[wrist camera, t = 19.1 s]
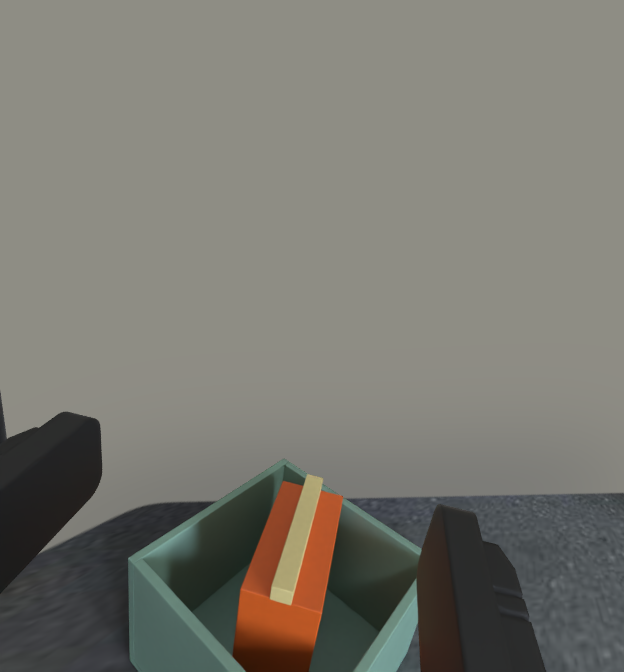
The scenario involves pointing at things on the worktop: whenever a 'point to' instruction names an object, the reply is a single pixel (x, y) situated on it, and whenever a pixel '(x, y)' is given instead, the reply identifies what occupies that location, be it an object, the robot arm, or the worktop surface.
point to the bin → (230, 570)
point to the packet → (287, 580)
